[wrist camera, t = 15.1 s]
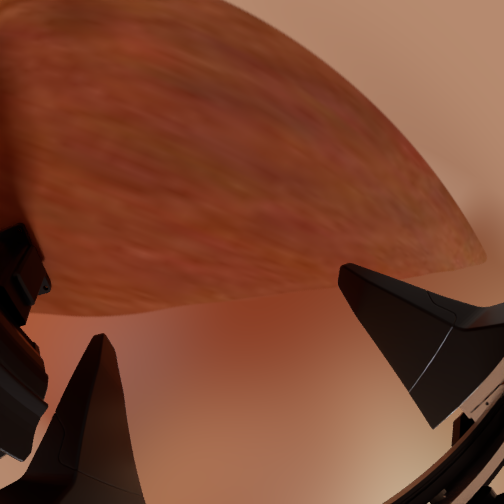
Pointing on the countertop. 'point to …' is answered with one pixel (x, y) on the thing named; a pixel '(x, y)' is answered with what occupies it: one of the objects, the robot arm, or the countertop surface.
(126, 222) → the countertop surface
